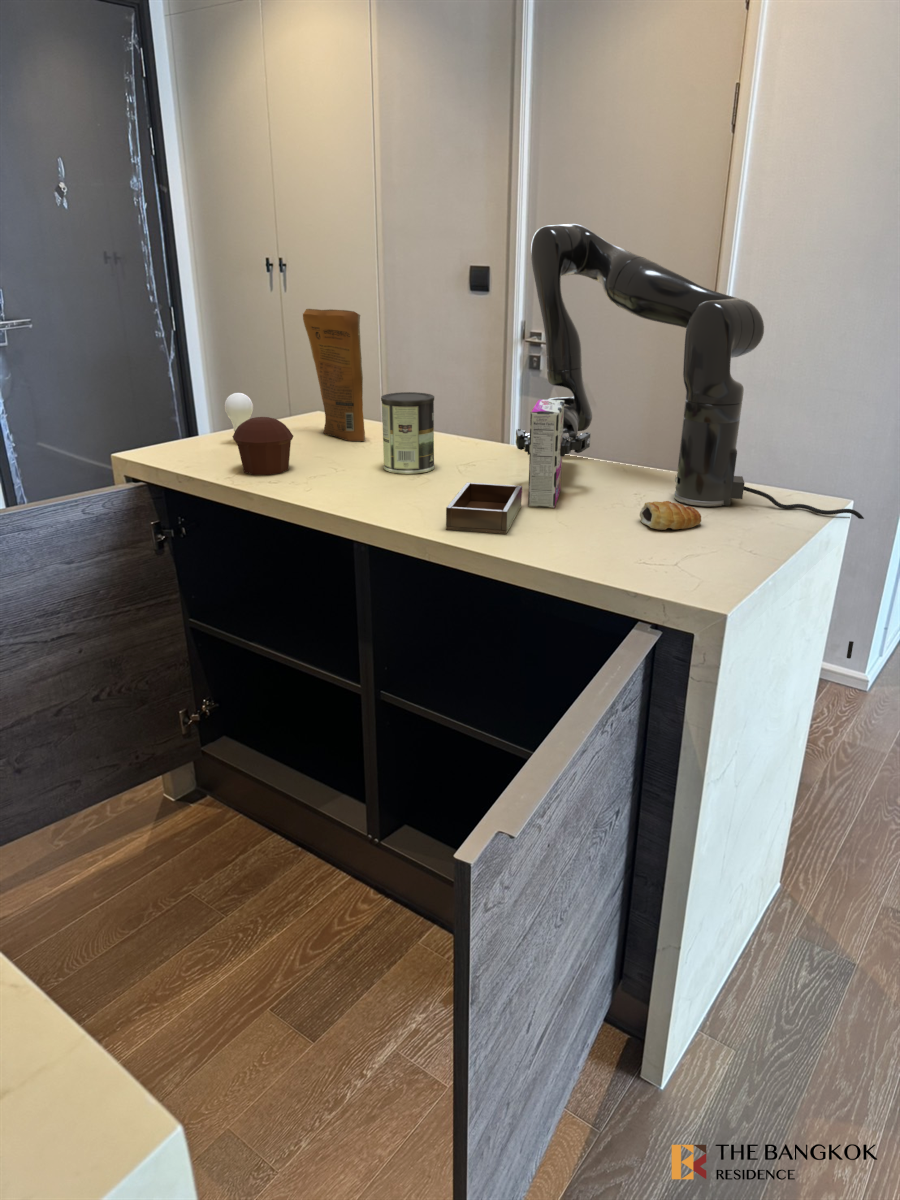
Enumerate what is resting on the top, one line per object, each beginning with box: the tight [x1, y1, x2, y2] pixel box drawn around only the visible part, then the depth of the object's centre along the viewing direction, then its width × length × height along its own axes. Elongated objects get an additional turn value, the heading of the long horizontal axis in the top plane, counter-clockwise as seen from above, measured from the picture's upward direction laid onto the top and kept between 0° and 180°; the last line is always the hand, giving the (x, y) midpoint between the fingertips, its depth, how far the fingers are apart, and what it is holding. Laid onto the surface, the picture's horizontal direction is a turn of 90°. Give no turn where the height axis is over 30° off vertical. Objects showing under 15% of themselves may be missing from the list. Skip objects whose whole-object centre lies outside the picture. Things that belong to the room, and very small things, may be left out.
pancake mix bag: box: [302, 308, 366, 442], centre depth 193 cm, size 7×19×28 cm, turn 40°
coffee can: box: [380, 391, 435, 475], centre depth 169 cm, size 10×10×14 cm
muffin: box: [232, 416, 294, 476], centre depth 168 cm, size 12×11×10 cm
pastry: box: [639, 500, 702, 531], centre depth 137 cm, size 9×7×4 cm
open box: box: [445, 481, 523, 535], centre depth 140 cm, size 10×16×4 cm, turn 167°
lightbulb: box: [224, 392, 254, 432], centre depth 190 cm, size 6×6×11 cm
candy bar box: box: [527, 398, 564, 509], centre depth 148 cm, size 11×5×16 cm, turn 168°
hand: (546, 449), depth 148 cm, fingers closed on candy bar box, 5 cm apart
